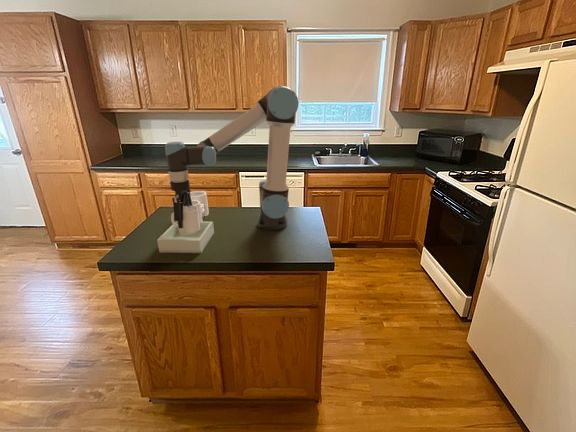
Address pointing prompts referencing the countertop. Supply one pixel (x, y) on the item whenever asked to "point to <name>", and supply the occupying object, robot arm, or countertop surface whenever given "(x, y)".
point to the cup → (189, 219)
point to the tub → (185, 239)
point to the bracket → (200, 203)
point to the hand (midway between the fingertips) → (186, 229)
